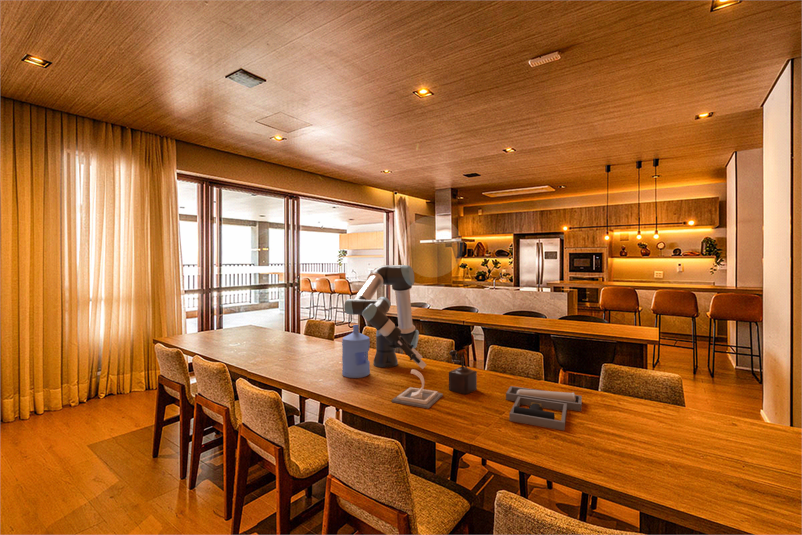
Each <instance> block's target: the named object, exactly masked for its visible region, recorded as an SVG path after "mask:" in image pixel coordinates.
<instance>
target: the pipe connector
mask: <svg viewBox="0 0 802 535" xmlns="http://www.w3.org/2000/svg"><path fill="white" fill-rule="evenodd" d="M514 413H517V414H523V415H529V416H535V417H541V418H547V419H553V420H556V418H555V416H556V414H555V412H554V411H547V410H544V408H542V404H540V403H534V402H531V405H530V406H529V407H522V406H521V407H520V406H519V407H516V406H515V407H514Z"/></svg>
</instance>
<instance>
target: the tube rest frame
mask: <svg viewBox="0 0 802 535" xmlns="http://www.w3.org/2000/svg"><path fill="white" fill-rule="evenodd" d="M519 389H525V390H536V389H535V388H534V389H533V388H527V387H520V386H514V385H513V386H512V385H510V386H509V388H508V390H507V391H506V393H505V401H512V402H515V401H516V399H517V397H518V396H519V397H526V398H533V399H540V400H546V401H553V402H560V403H567V410H570V411H576V412H582V405H583V404H582V398H583V397H582V395H578V394H575V398H576V403H575V402H568V401H561V400H554V399H548V398H541V397H534V396H527V395H520V394H516V393H517V391H518V390H519ZM538 390H539V391H544V390H542V389H538Z"/></svg>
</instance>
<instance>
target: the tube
mask: <svg viewBox="0 0 802 535" xmlns="http://www.w3.org/2000/svg"><path fill="white" fill-rule="evenodd" d="M539 390H540V389H535V390H525V389H519V390H518V391H517V393H516V394H520V395H527V396H534V397H541V398H548V399H554V400H561V401H568V402H575V403H576V398H575V395H576V394H575V392H565V391H564V392H563V391H551V390H550V391H549V390H543V391H539Z"/></svg>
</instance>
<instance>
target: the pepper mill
mask: <svg viewBox="0 0 802 535" xmlns="http://www.w3.org/2000/svg"><path fill="white" fill-rule="evenodd" d="M457 353H458V352H457V350H455V349H453V350H452V349H451V350H450V351H449V355H450V357H451V362H452V363H461V366H459V367H457V368H455V369H452V370H450V371H449V372H448V391H451V392H454V393H458V394H461V395H469V394H471V393H473V392H475V391H477V386H478V385H477V384H478V383H477V381H478V380H477V376H478V374H477V372H478V371H477V370H473V369H471V368H468V365H465V366H464V361H465V358H464V356H461V359H460V360H456V359H458V358H457Z"/></svg>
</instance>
